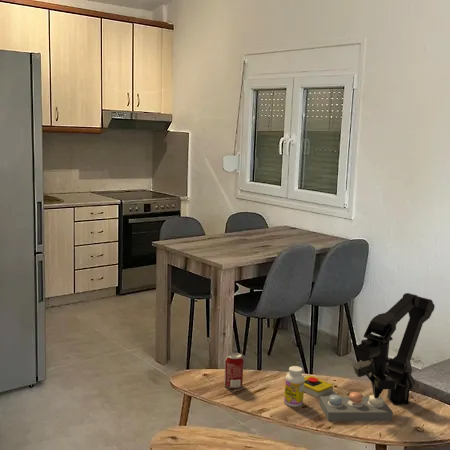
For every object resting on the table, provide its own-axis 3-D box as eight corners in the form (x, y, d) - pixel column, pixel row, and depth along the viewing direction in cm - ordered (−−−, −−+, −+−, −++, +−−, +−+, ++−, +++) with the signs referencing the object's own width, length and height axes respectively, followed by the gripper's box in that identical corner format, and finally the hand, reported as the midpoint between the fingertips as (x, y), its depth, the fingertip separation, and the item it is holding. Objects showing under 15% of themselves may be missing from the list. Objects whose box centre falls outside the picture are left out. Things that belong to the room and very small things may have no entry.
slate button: (340, 399, 202) (340, 394, 202) (343, 405, 198) (344, 400, 197) (327, 399, 201) (327, 394, 201) (331, 405, 197) (331, 400, 197)
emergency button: (307, 370, 225) (339, 383, 214) (307, 381, 226) (338, 395, 215) (291, 376, 219) (323, 390, 208) (291, 387, 220) (322, 401, 209)
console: (379, 404, 208) (380, 395, 207) (392, 420, 196) (393, 411, 195) (319, 404, 206) (319, 395, 205) (327, 420, 194) (328, 411, 193)
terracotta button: (360, 396, 202) (360, 392, 202) (364, 402, 198) (364, 397, 198) (347, 396, 202) (348, 392, 202) (351, 402, 198) (351, 397, 197)
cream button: (379, 399, 203) (379, 394, 203) (383, 405, 199) (384, 400, 198) (367, 399, 203) (367, 394, 202) (371, 405, 198) (371, 400, 198)
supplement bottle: (280, 402, 206) (282, 368, 204) (291, 397, 210) (293, 363, 208) (295, 409, 201) (297, 373, 199) (306, 403, 206) (309, 368, 204)
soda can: (242, 390, 214) (243, 359, 213) (224, 389, 214) (225, 358, 213) (242, 382, 221) (243, 352, 219) (224, 381, 221) (225, 351, 219)
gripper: (348, 344, 207) (345, 386, 209) (365, 365, 188) (361, 410, 191) (378, 344, 208) (375, 386, 210) (398, 365, 189) (394, 410, 192)
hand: (375, 397), depth 200 cm, fingers closed, pressing on cream button
